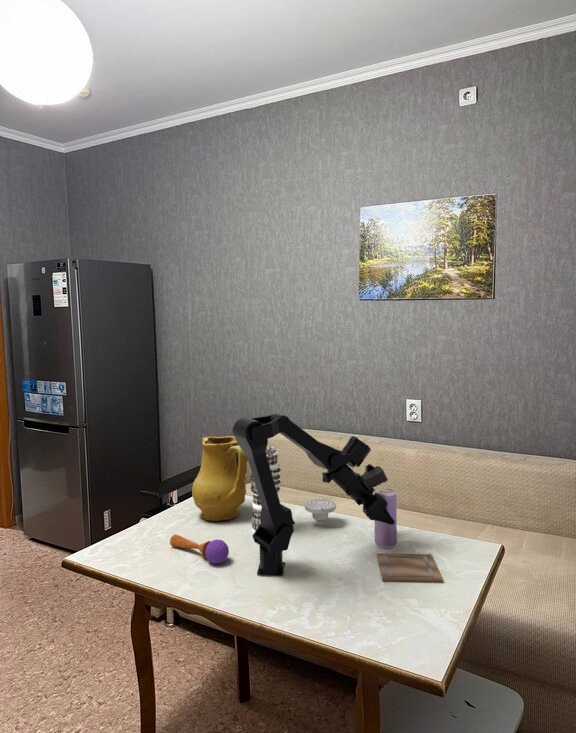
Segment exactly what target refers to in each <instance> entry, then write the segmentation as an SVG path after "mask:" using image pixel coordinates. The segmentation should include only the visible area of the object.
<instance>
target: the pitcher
mask: <svg viewBox="0 0 576 733" xmlns="http://www.w3.org/2000/svg"><path fill="white" fill-rule="evenodd" d="M201 441H202V453H201V454H202V456H201V463H200V464H201V465H200V469H199V472H198V474H197V476H196V478H194V481H193V484H192V488H191V495H192V498H193V501H194V502H193V503H194V505H195V506H196V507H197V508H198V509H199V510H200V511H201V513H200V517H201V518H202V519H203V520H206V521H216V522H217V521H226V520H232V519H234V518H238V517H239V515H240V512H239V511H238V508H239V507H240V506H241V505H242V504H244V503H245V501H246V495H247V488H246V487H247V484H246V483H247V482H246V479H247V478H246V477H247V476H246V475H247V473H248V463H249V462H248V459H247V456H246V454H245V453H244V452H243V450H242V449H241V448H240V446H239V445H238V443H237V441H236V439H235V437H234V435H229V436H206V437H202V439H201ZM237 454H238V465H237Z"/></svg>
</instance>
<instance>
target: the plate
mask: <svg viewBox="0 0 576 733" xmlns="http://www.w3.org/2000/svg"><path fill="white" fill-rule="evenodd" d="M376 557H377V558H376V559H377V561H378V567H379V571H380V576H381V580H382V582H383V583H424V584H425V583H426V584H427V583H431V584H432V582H433V584H435V583H436V584H437V583H438V584H441V583H442V584H443V583H444V580H443V578H442V577H443V576H442V575H441V572H440V571H439V569H438V567H437V564H436V562H435V560H434V558H433V555H432V554H431V553H381V552H380V553H379V552H377V553H376Z"/></svg>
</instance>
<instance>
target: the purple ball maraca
mask: <svg viewBox="0 0 576 733" xmlns="http://www.w3.org/2000/svg"><path fill="white" fill-rule="evenodd" d="M169 545H170V546H171V547H172V546H173V548H182V549H183V548H184V549H185V548H186V549H192V550H193V549H195V550H198V551H200V553H201V554H202V556H203V557H205V558H206V559H207V560H208V562H209V563H211V564H214V565H219V564H222V563H224V562H225V561H226V560H227V558H228V556H229V553H230V550H229V545H228V544H227V543H226V541H224V540H222V539H213V540H211V541H210V540H208V541H206V542H203V543H201V544H199V543H197V542H195V541H192V540H190V539H188V538H186V537H183V536H180V535H178V534H173V535H172V536H171V537H170V539H169Z"/></svg>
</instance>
